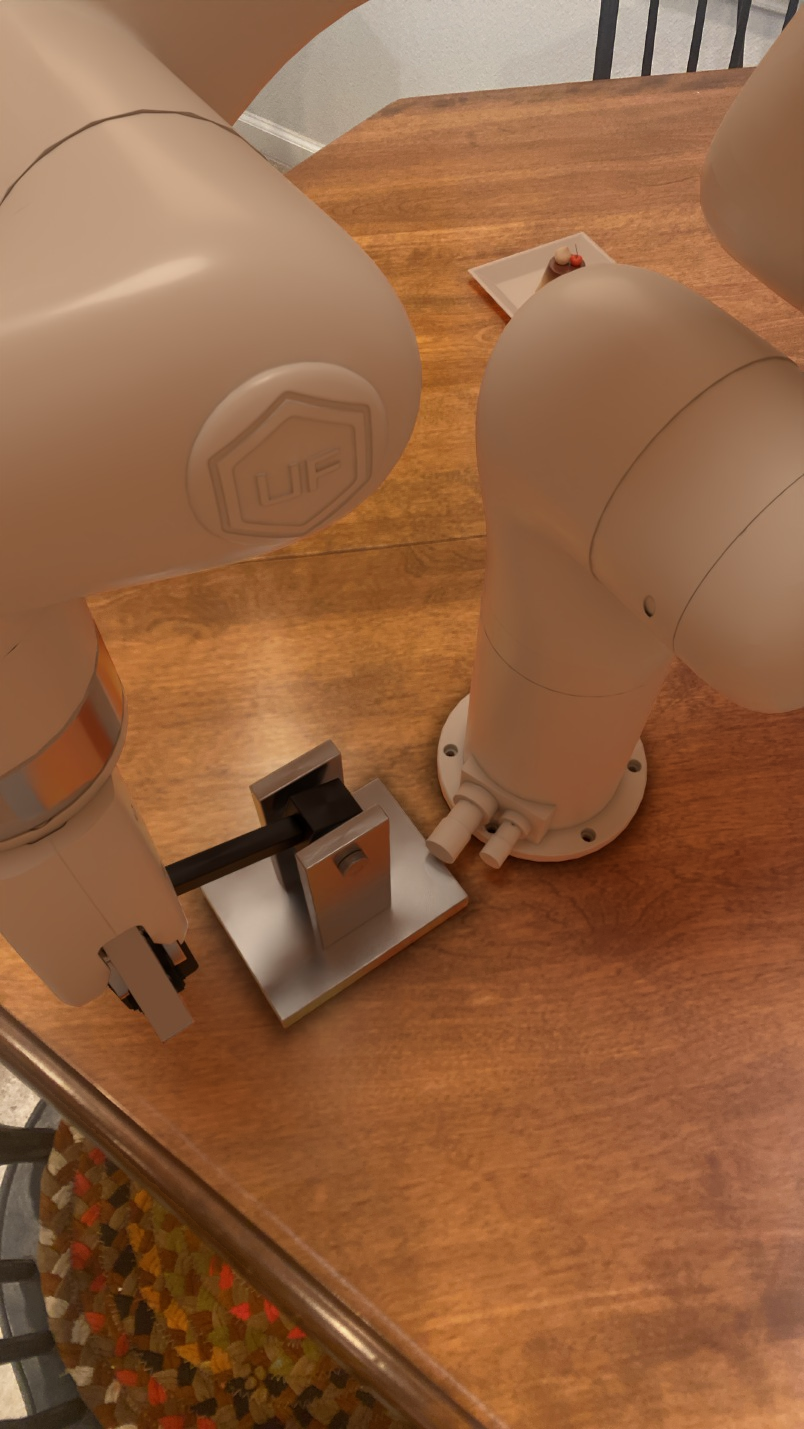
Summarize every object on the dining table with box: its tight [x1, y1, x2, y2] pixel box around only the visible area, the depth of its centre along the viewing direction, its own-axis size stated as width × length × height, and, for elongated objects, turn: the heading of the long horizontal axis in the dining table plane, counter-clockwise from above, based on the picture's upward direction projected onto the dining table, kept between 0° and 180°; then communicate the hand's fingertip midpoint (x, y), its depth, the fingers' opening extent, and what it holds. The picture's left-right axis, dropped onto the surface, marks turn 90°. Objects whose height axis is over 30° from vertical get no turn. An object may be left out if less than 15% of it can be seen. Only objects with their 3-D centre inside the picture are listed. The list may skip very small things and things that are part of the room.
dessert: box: [467, 230, 618, 318], centre depth 79 cm, size 12×12×5 cm
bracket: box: [199, 738, 470, 1029], centre depth 48 cm, size 12×9×13 cm
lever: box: [146, 778, 363, 940], centre depth 41 cm, size 12×5×2 cm, turn 125°
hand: (131, 926), depth 41 cm, fingers closed on lever, 5 cm apart
